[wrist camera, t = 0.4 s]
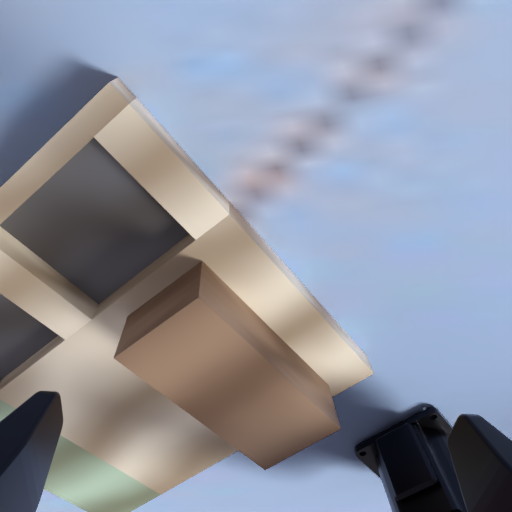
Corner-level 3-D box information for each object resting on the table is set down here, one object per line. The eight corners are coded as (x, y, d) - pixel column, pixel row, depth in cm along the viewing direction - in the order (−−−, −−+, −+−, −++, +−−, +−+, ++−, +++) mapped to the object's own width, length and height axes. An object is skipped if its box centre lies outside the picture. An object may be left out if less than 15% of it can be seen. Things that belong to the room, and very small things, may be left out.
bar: (328, 385, 24) (341, 429, 22) (261, 424, 25) (265, 470, 23) (202, 260, 20) (198, 297, 17) (127, 316, 21) (113, 358, 18)
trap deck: (366, 355, 25) (373, 373, 24) (114, 502, 31) (110, 523, 30) (118, 77, 17) (109, 81, 16) (-164, 349, 23) (-188, 369, 21)
